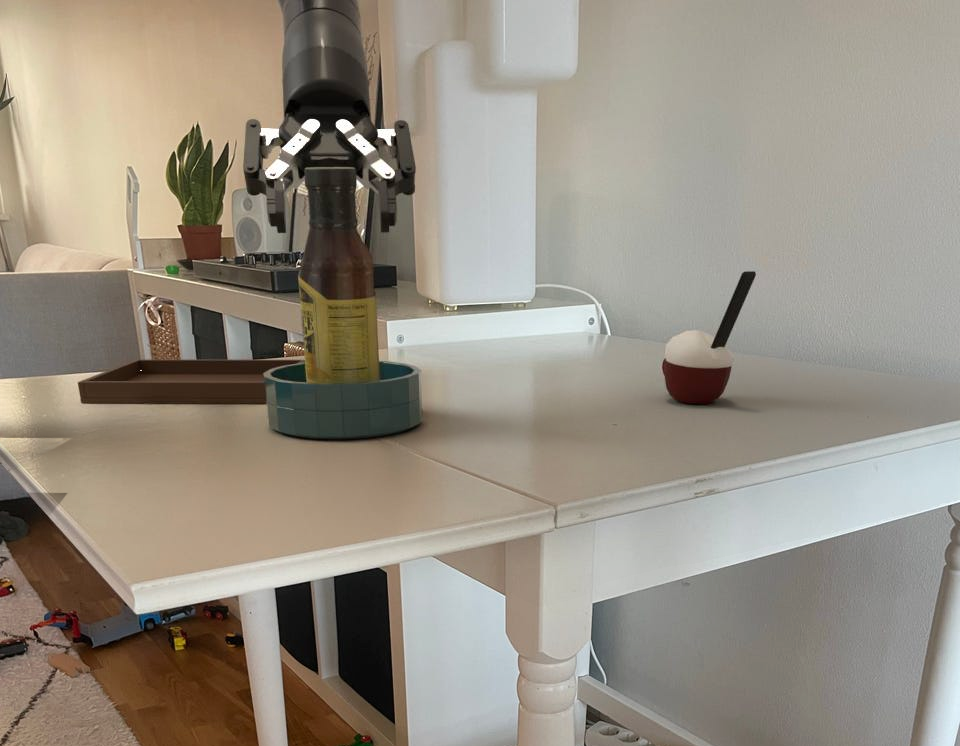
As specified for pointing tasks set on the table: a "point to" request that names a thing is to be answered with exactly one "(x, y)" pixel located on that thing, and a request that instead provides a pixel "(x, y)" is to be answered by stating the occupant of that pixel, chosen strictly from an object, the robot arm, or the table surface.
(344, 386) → the bowl
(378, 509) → the table surface
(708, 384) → the ice cream cup
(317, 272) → the sauce bottle
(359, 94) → the robot arm
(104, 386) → the tray
